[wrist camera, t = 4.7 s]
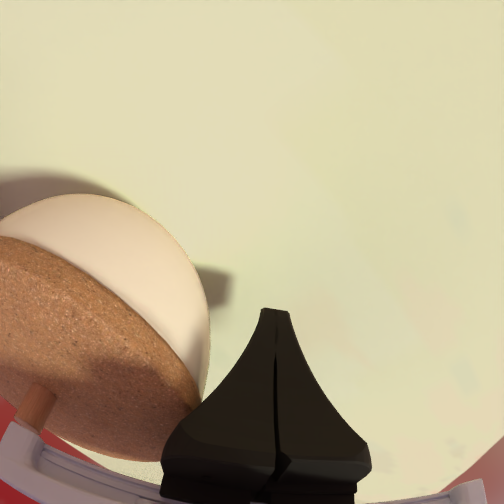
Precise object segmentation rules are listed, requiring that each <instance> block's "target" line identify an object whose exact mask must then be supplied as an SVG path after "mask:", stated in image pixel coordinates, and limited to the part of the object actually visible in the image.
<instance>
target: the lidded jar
mask: <svg viewBox="0 0 504 504" xmlns="http://www.w3.org/2000/svg"><path fill="white" fill-rule="evenodd" d="M210 346H211V341H210V317H209V309H208V305H207V300H206V296H205V293H204V289H203V286H202V283H201V281H200V278H199V276H198V273H197V271H196V269H195V267H194V266H193V264H192V262H191V260H190V259H189V257H188V255H187V254H186V252H185V251H184V249H183V248H182V247H181V245H180V244H179V243H178V242H177V240H176V239H175V238H174V237H173V236H172V235H171V234H170V233H169V232H168V231H167V230H166V229H165V228H164V227H163V226H162V225H161V224H160V223H158V222H157V221H156V220H154V219H153V218H152V217H150V216H149V215H148V214H146V213H144V212H143V211H141V210H139V209H137V208H136V207H134V206H132V205H129V204H127V203H124V202H122V201H119V200H116V199H113V198H109V197H105V196H100V195H96V194H65V195H59V196H53V197H50V198H47V199H43V200H40V201H37V202H35V203H32V204H30V205H28V206H26V207H24V208H22V209H20V210H18V211H16V212H14V213H12V214H10V215H8V216H6V217H5V218H3V219H2V220H0V395H1V396H2V397H3V398H4V399H5V400H7V401H8V402H9V403H10V404H11V405H12V406H14V407H15V408H16V409H17V412H16V414H15V415H14V418H15V420H16V421H17V422H18V423H19V424H20V425H22V426H23V427H24V428H26V429H28V430H30V431H32V432H34V433H35V434H37V435H40V434H41V432H42V429H43V428H45V429H47V430H48V431H50V432H51V433H53V434H55V435H57V436H59V437H61V438H63V439H65V440H67V441H69V442H71V443H73V444H76V445H78V446H80V447H82V448H85V449H88V450H91V451H94V452H97V453H100V454H103V455H106V456H110V457H114V458H119V459H125V460H131V461H140V462H158V461H161V456H162V452H163V448H164V446H165V443H166V441H167V440H168V438H169V436H170V435H171V433H172V432H173V430H174V429H175V427H176V426H177V425H178V423H179V422H180V421H181V420H182V419H183V418H185V417H186V416H187V415H188V414H190V413H191V412H192V411H193V410H194V409H196V408H197V407H198V406H199V405H200V404H201V403H202V398H203V394H204V389H205V385H206V380H207V374H208V368H209V360H210Z"/></svg>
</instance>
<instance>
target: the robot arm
mask: <svg viewBox="0 0 504 504" xmlns="http://www.w3.org/2000/svg"><path fill="white" fill-rule="evenodd" d="M160 463H161V466H162V469H163V472H164V475H163V479H162V483H161V486H160V485H156V484H153V483H149V482H145V481H142V480H138V479H135V478H132V477H129V476H125V475H122V474H119V473H116V472H113V471H110V470H107V469H104V468H101V467H99V466H96V465H94V464H91V463H88V462H86V461H83V460H81V459H79V458H76V457H73V456H71V455H69V454H67V453H64V452H62V451H60V450H57V449H55V448H53V447H51V446H49V445H47V444H45V443H44V441H43V440H42V439H41V438H40V437H39V436H38V435H37V434H35V433H34V432H32V431H30V430H28V429H26V428H24V427H23V426H21V425H19V424H17V423H15V422H10V424H9V426H8V428H7V430H6V432H5V434H4V436H3V438H2V440H1V442H0V479H2V480H3V481H4V482H6V483H7V484H9V485H10V486H12V487H13V488H15V489H16V490H18V491H20V492H21V493H23V494H25V495H26V496H28V497H30V498H32V499H33V500H35V501H37V502H39V503H41V504H354V494H355V493H356V492H357V482H359V481H360V480H361V479H363V478H364V477H365V476H367V475H368V474H369V473H370V471H371V469H372V464H371V457H370V452H369V449H368V445H367V443H366V442H365V441H364V440H363V439H362V438H361V437H360V436H359V435H358V434H357V433H356V432H355V431H354V430H353V429H352V428H351V427H350V426H349V425H348V424H347V422H346V421H345V420H344V419H343V418H342V417H341V415H340V414H339V413H338V412H337V410H336V409H335V408H334V406H333V405H332V404H331V402H330V401H329V400H328V398H327V397H326V395H325V394H324V392H323V391H322V389H321V387H320V386H319V384H318V382H317V381H316V379H315V377H314V375H313V374H312V372H311V370H310V368H309V366H308V364H307V362H306V359H305V357H304V355H303V353H302V350H301V348H300V345H299V343H298V340H297V338H296V335H295V332H294V329H293V326H292V322H291V319H290V314H289V313H288V311H283V310H276V309H270V308H263V309H261V312H260V317H259V321H258V324H257V326H256V329H255V331H254V333H253V335H252V337H251V339H250V341H249V343H248V345H247V347H246V348H245V350H244V352H243V353H242V355H241V356H240V358H239V360H238V361H237V362H236V364H235V365H234V367H233V368H232V369H231V371H230V372H229V373H228V375H227V376H226V377H225V378H224V380H223V381H222V382H221V383H220V384H219V386H218V387H217V388H216V389H215V390H214V391H213V392H212V393H211V394H210V395H209V396H208V397H207V398H206V399H205V400H204V401H203V402H202V403H201V404H200V405H199V406H198V407H197V408H196V409H194V410H193V411H192V412H191V413H190V414H188V415H187V416H186V417H185V418H183V419H182V420H181V421H180V422H179V423H178V425H177V426H176V427H175V429H174V430H173V432H172V433H171V435H170V436H169V438H168V440H167V441H166V443H165V446H164V448H163V452H162V456H161V461H160ZM367 504H487V501H486V496H485V491H484V486H483V481H482V479H476V480H473V481H469V482H465V483H462V484H460V485H457V486H455V487H454V488H452V489H451V490H450V491H447V492H442V493H437V494H432V495H427V496H422V497H416V498H409V499H403V500H395V501H387V502H378V503H367Z"/></svg>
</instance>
